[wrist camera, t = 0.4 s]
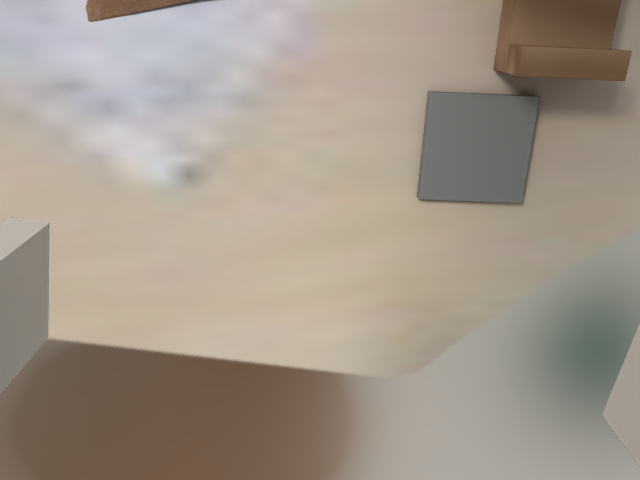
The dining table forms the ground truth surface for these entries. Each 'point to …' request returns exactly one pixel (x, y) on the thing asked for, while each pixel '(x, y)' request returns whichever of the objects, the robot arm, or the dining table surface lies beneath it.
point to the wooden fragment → (123, 7)
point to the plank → (560, 40)
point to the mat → (476, 146)
